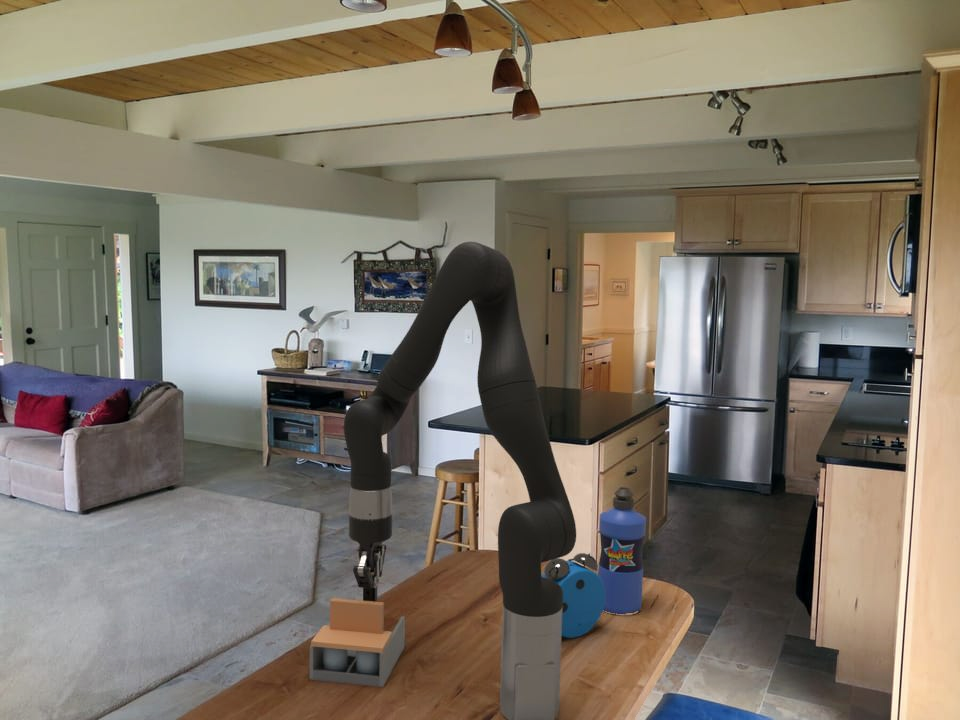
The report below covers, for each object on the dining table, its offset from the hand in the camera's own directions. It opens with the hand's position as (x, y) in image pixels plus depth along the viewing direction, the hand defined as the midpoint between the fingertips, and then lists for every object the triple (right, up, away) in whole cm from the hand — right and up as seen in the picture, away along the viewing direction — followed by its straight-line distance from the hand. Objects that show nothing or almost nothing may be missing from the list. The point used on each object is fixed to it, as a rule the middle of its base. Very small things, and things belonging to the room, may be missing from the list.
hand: (370, 605), depth 140 cm
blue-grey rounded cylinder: (+1, -9, -9) cm, 13 cm away
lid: (-2, -3, -9) cm, 10 cm away
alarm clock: (+36, -9, +10) cm, 39 cm away
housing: (-1, -9, -5) cm, 10 cm away
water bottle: (+48, -7, +23) cm, 54 cm away
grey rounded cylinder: (-5, -8, -8) cm, 13 cm away
